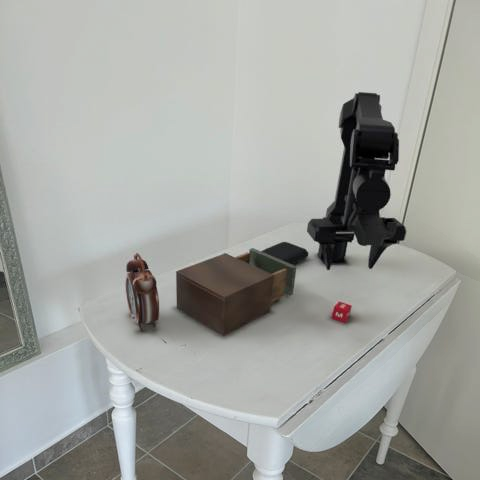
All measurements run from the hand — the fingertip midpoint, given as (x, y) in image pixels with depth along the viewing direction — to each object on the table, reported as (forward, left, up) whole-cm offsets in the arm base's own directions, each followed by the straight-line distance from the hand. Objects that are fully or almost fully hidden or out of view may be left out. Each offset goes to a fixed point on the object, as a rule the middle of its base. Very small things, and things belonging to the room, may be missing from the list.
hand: (349, 268), depth 99 cm
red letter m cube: (0, 0, -12) cm, 12 cm away
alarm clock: (+42, -2, -12) cm, 44 cm away
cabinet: (+25, -5, -12) cm, 28 cm away
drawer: (+17, -11, -11) cm, 23 cm away
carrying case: (+6, -30, -12) cm, 33 cm away
